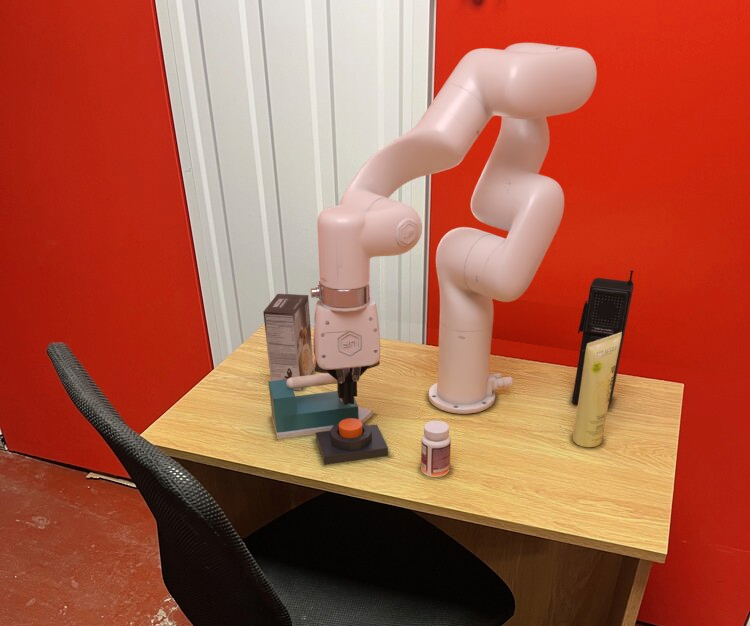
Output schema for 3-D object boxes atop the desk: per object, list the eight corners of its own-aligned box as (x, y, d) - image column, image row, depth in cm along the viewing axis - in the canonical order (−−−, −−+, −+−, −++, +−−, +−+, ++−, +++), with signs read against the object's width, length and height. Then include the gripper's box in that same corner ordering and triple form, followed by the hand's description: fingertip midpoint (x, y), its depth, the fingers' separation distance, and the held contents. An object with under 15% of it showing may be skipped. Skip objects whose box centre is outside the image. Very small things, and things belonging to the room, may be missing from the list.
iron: (368, 405, 146) (367, 354, 140) (377, 425, 140) (376, 373, 134) (272, 418, 143) (266, 366, 136) (277, 439, 137) (272, 386, 130)
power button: (359, 425, 134) (359, 416, 133) (364, 437, 131) (364, 428, 130) (337, 428, 133) (336, 419, 132) (341, 440, 130) (341, 431, 129)
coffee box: (284, 367, 159) (277, 292, 149) (314, 370, 158) (309, 294, 148) (270, 388, 152) (262, 310, 142) (302, 391, 151) (295, 313, 141)
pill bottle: (453, 466, 129) (456, 422, 124) (442, 480, 126) (445, 436, 121) (427, 459, 131) (428, 416, 126) (415, 473, 127) (416, 430, 122)
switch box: (376, 432, 138) (376, 415, 136) (387, 456, 132) (387, 438, 130) (316, 440, 136) (314, 423, 134) (324, 465, 130) (323, 447, 128)
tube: (600, 452, 132) (620, 346, 120) (569, 447, 133) (586, 342, 122) (602, 435, 136) (622, 331, 125) (573, 431, 137) (590, 328, 126)
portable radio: (565, 404, 145) (585, 273, 130) (571, 389, 150) (591, 262, 135) (608, 411, 143) (633, 279, 128) (613, 396, 147) (637, 267, 132)
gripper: (300, 306, 113) (306, 417, 124) (399, 298, 116) (397, 406, 126) (292, 288, 119) (299, 395, 130) (386, 280, 122) (385, 385, 132)
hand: (347, 400), depth 128 cm, fingers closed
